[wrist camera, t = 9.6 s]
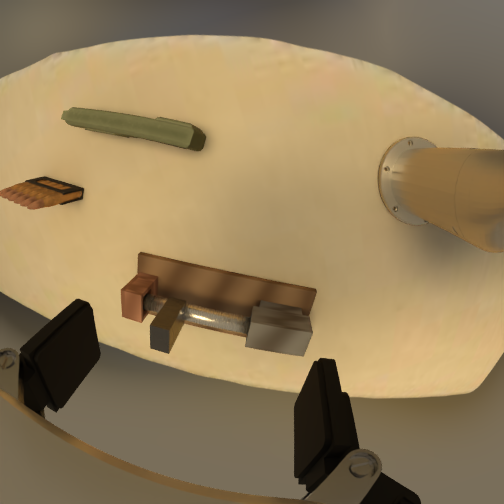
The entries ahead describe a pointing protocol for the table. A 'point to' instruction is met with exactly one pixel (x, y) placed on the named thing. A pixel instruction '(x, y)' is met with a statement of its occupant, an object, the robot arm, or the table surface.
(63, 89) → the table surface
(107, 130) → the handheld radio
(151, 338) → the tube
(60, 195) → the ammunition clip
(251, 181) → the table surface
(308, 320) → the tube stand
